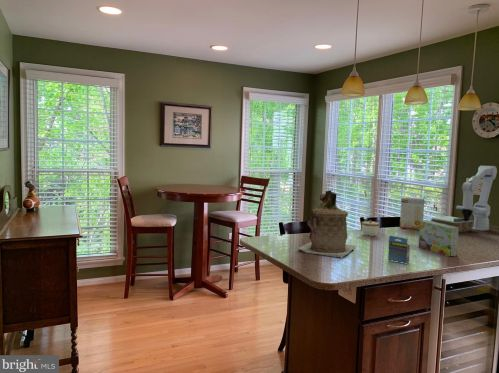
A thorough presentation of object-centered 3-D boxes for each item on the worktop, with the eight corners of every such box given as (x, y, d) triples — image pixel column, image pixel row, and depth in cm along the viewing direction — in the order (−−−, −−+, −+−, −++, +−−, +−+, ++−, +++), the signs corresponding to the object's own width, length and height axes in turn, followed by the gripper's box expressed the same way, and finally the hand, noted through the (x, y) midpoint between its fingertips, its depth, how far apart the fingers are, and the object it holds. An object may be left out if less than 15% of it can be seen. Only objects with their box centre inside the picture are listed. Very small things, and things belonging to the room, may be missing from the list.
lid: (448, 217, 281) (448, 213, 281) (472, 221, 266) (473, 217, 266) (431, 218, 273) (432, 214, 273) (456, 223, 257) (456, 219, 257)
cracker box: (422, 229, 269) (424, 198, 267) (421, 230, 264) (423, 199, 262) (401, 226, 276) (403, 196, 274) (399, 227, 271) (401, 197, 269)
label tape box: (409, 263, 185) (410, 237, 184) (406, 264, 182) (407, 238, 181) (390, 259, 191) (392, 234, 189) (387, 261, 188) (388, 235, 186)
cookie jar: (357, 249, 210) (359, 189, 207) (343, 259, 189) (345, 193, 186) (313, 242, 222) (315, 186, 219) (295, 252, 201) (297, 189, 198)
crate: (447, 225, 282) (447, 217, 282) (471, 230, 267) (472, 221, 266) (430, 227, 274) (431, 219, 273) (455, 232, 258) (455, 223, 258)
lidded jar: (380, 237, 240) (381, 222, 239) (362, 236, 241) (362, 221, 240) (377, 233, 250) (378, 219, 249) (359, 232, 252) (360, 218, 251)
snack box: (417, 247, 216) (419, 220, 215) (425, 246, 218) (427, 219, 217) (449, 257, 197) (451, 227, 195) (457, 256, 199) (459, 227, 197)
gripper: (453, 199, 263) (452, 219, 265) (475, 202, 251) (473, 223, 252) (460, 199, 267) (458, 218, 268) (481, 201, 254) (480, 222, 256)
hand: (466, 221), depth 260 cm, fingers closed
